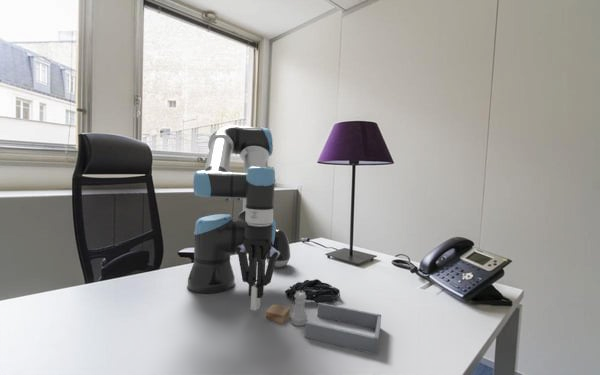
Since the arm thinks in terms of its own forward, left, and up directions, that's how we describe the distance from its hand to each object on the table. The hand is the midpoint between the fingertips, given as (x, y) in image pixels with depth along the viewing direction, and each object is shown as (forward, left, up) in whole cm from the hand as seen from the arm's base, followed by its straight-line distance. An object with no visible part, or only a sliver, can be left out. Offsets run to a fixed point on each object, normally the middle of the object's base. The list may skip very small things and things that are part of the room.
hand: (255, 307), depth 81 cm
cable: (+11, +18, -2) cm, 21 cm away
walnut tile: (+7, 0, -2) cm, 7 cm away
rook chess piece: (+13, 0, -2) cm, 13 cm away
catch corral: (+25, 0, -1) cm, 25 cm away
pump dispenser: (-10, +39, -2) cm, 40 cm away
